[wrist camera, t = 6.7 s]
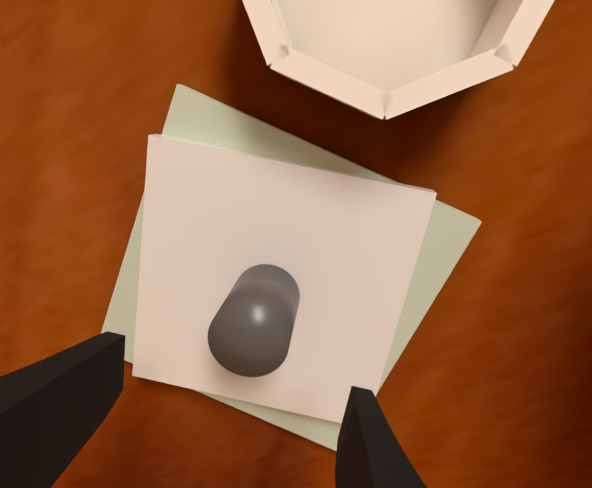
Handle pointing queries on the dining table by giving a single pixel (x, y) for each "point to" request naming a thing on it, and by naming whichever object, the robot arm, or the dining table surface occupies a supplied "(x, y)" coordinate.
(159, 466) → the dining table surface
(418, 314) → the mat
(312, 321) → the cover
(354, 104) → the bowl
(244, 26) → the dining table surface
